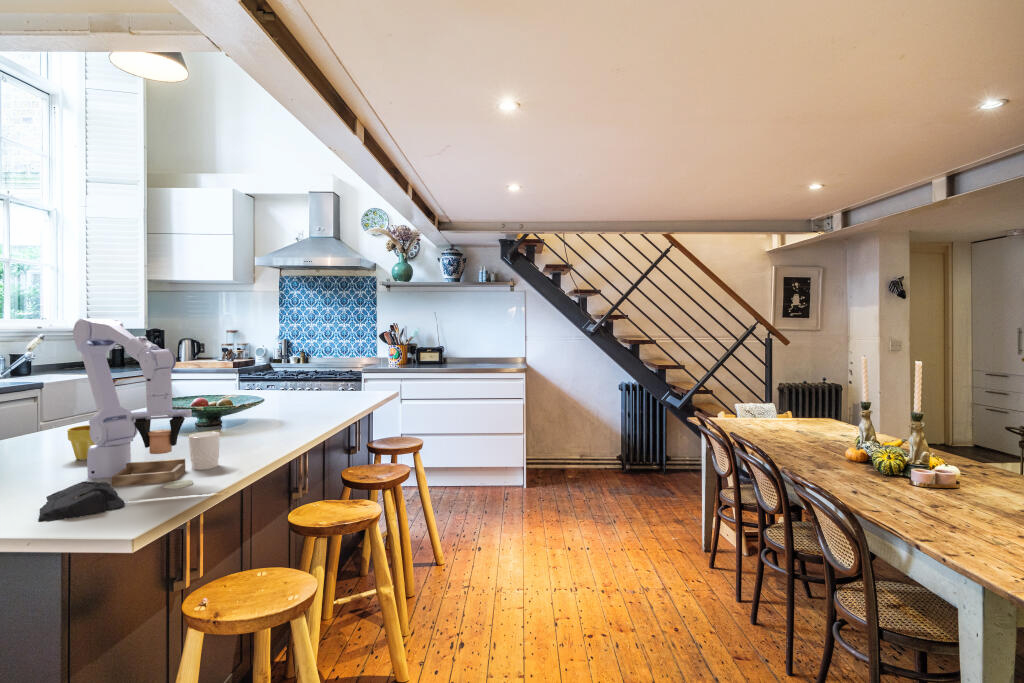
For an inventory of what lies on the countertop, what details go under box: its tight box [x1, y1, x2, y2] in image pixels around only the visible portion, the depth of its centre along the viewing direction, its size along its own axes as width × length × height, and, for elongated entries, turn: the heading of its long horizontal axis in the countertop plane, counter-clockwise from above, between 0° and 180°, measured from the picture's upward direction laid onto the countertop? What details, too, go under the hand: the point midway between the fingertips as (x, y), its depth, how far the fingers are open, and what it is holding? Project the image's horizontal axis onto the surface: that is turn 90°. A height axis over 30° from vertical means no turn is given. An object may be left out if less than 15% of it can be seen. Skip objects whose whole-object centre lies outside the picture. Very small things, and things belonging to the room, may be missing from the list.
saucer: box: [162, 479, 194, 490], centre depth 141 cm, size 8×8×1 cm
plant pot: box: [66, 424, 96, 459], centre depth 174 cm, size 10×10×10 cm
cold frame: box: [111, 458, 186, 487], centre depth 148 cm, size 14×11×4 cm
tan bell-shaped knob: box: [148, 429, 173, 455], centre depth 146 cm, size 6×6×6 cm
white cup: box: [188, 431, 221, 471], centre depth 160 cm, size 8×8×10 cm
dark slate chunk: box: [37, 480, 125, 523], centre depth 128 cm, size 15×22×5 cm
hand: (160, 446), depth 146 cm, fingers closed on tan bell-shaped knob, 5 cm apart
